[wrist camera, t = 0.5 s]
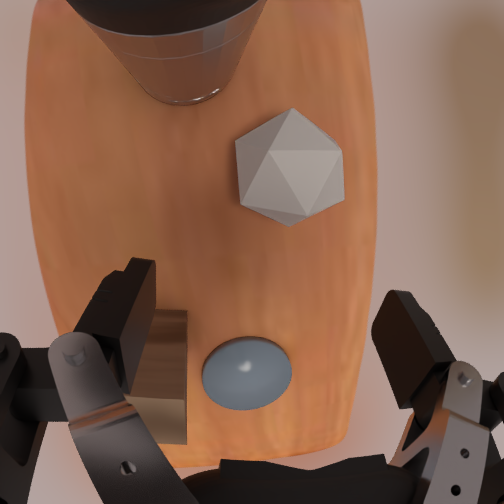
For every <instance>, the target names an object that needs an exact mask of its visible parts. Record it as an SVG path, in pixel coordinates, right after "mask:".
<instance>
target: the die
mask: <svg viewBox="0 0 504 504" xmlns="http://www.w3.org/2000/svg"><path fill="white" fill-rule="evenodd" d="M235 146H236V158H237V170H238V182H239V194H240V205H243V206H245V207H247V208H249V209H251V210H254V211H256V212H258V213H260V214H262V215H264V216H267V217H269V218H271V219H273V220H275V221H277V222H279V223H282V224H284V225H286V226H288V227H290V226H292V225H294V224H296V223H298V222H300V221H302V220H304V219H306V218H308V217H310V216H312V215H314V214H316V213H318V212H320V211H322V210H324V209H327V208H329V207H331V206H333V205H335V204H337V203H339V202H341V201H343V200H344V177H343V159H342V150H341V149H340V147H339V146H338V144H337V143H336V141H335V140H334V139H333V138H331V137H330V136H329V135H328V134H326V133H325V132H324V131H323V130H321V129H320V128H319V127H317V126H316V125H315V124H314V123H312V122H311V121H310V120H308V119H307V118H306V117H304V116H303V115H302V114H300V113H299V112H298V111H296V110H295V109H294V108H291V109H289V110H287V111H285V112H283V113H282V114H280V115H278V116H276V117H275V118H273V119H271V120H269V121H267V122H266V123H264V124H262V125H261V126H259V127H257V128H255V129H254V130H252V131H250V132H249V133H247V134H245V135H244V136H242V137H240V138H239V139H237V140H235Z"/></svg>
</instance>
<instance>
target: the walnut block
mask: <svg viewBox="0 0 504 504" xmlns="http://www.w3.org/2000/svg"><path fill="white" fill-rule="evenodd" d="M123 395H124V397H125V399H126V400H127V402H128V403H129V404H132V405H133V406H134V407H135V409H136V410H137V412H138V413H139V415H140V417H141V418H142V420H143V422H144V424H145V425H146V427H147V429H148V430H149V432H150V433H151V435H152V437H153V438H154V440H155V441H156V443H160V444H182V445H187V311H182V310H159V309H155V313H154V317H153V320H152V323H151V327H150V330H149V333H148V336H147V339H146V342H145V345H144V349H143V352H142V355H141V359H140V362H139V365H138V369H137V372H136V375H135V379H134V382H133V386H132V389H131V393H130V395H129V394H124V393H123Z"/></svg>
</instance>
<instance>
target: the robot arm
mask: <svg viewBox="0 0 504 504" xmlns="http://www.w3.org/2000/svg"><path fill="white" fill-rule="evenodd" d="M66 1H67V2H68V3H69V4H70V5H71V6H72V7H73V8H74V9H75V11H76V12H77V13H78V14H79V15H80V16H81V17H82V19H83V20H84V21H85V22H86V23H87V24H88V25H89V26H90V28H91V29H92V30H93V31H94V32H95V33H96V34H97V35H98V36H99V37H100V39H101V40H102V41H103V42H104V43H105V44H106V45H107V47H108V48H109V49H110V50H111V51H112V52H113V53H114V55H115V56H116V57H117V58H118V59H119V60H120V62H121V63H122V64H123V65H124V66H125V67H126V69H127V70H128V71H129V72H130V73H131V74H132V76H133V77H134V78H135V79H136V80H137V82H138V83H139V84H140V85H141V86H142V87H143V88H144V90H145V91H146V92H147V93H149V94H150V95H151V96H152V97H154V98H155V99H157V100H160V101H162V102H164V103H168V104H172V105H191V104H196V103H199V102H202V101H205V100H207V99H209V98H211V97H213V96H214V95H216V94H217V93H218V92H220V91H221V90H222V89H223V88H224V87H225V86H226V84H227V83H228V82H229V81H230V79H231V77H232V75H233V73H234V71H235V69H236V66H237V64H238V62H239V60H240V58H241V55H242V53H243V51H244V49H245V46H246V44H247V42H248V40H249V38H250V35H251V33H252V31H253V29H254V27H255V25H256V23H257V20H258V18H259V16H260V14H261V12H262V10H263V8H264V5H265V3H266V1H267V0H66ZM155 307H156V263H155V260H149V259H142V258H135V257H132V258H131V260H130V261H129V263H128V265H127V267H126V269H125V270H124V272H123V271H117V270H115V271H113V272H112V273H110V274H109V275H108V276H106V277H105V278H104V279H103V280H102V282H101V284H100V285H99V287H98V289H97V291H96V292H95V294H94V295H93V297H92V300H90V302H89V304H88V306H87V307H86V309H85V311H84V313H83V315H82V316H81V318H80V320H79V322H78V324H77V325H76V327H75V329H74V331H73V332H70V333H66V334H63V335H61V336H59V337H58V338H57V339H55V340H54V341H53V343H52V344H51V345H50V347H48V348H21V346H20V343H19V341H18V339H17V338H16V337H15V336H13V335H12V334H9V333H0V504H27V500H28V496H29V491H30V486H31V482H32V478H33V474H34V470H35V466H36V462H37V458H38V455H39V451H40V447H41V444H42V440H43V437H44V434H45V430H46V427H47V424H48V422H54V421H55V422H69V424H68V426H69V430H70V433H71V435H72V438H73V441H74V443H75V445H76V448H77V450H78V452H79V455H80V457H81V459H82V462H83V464H84V466H85V468H86V470H87V472H88V474H89V476H90V478H91V480H92V482H93V484H94V486H95V488H96V490H97V492H98V494H99V496H100V498H101V500H102V501H103V503H104V504H504V458H503V459H502V460H501V457H500V455H499V452H498V449H497V447H496V444H495V441H494V439H493V436H492V434H491V431H492V430H493V429H494V428H495V427H496V426H497V425H498V424H500V423H501V422H502V421H503V423H504V372H502V373H500V375H499V376H498V377H497V378H496V380H495V381H494V382H491V381H486V380H482V378H481V375H480V374H479V372H478V371H477V370H476V369H475V368H474V367H473V366H472V365H470V364H468V363H466V362H463V361H457V360H456V359H455V357H454V355H453V354H452V352H451V350H450V348H449V347H448V345H447V344H446V342H445V340H444V338H443V337H442V335H440V332H439V330H438V328H437V327H435V324H434V322H433V321H432V319H431V317H430V316H429V314H428V313H426V312H425V311H424V310H423V309H422V308H421V307H420V306H419V304H418V303H417V301H416V300H415V298H414V297H413V295H412V294H411V293H410V292H408V291H399V290H390V291H389V292H388V293H387V294H386V296H385V298H384V301H383V303H382V305H381V307H380V309H379V311H378V313H377V316H376V318H375V320H374V322H373V325H372V329H371V335H372V340H373V342H374V345H375V346H376V350H377V352H378V354H379V357H380V359H381V362H382V364H383V367H384V369H385V372H386V375H387V377H388V380H389V383H390V385H391V388H392V390H393V393H394V396H395V399H396V401H397V404H398V407H399V409H407V408H413V410H414V412H413V413H412V414H411V415H410V417H409V419H408V422H407V424H406V427H405V430H404V432H403V435H402V438H401V440H400V443H399V445H398V447H397V450H396V452H395V455H394V457H393V458H392V460H391V461H390V463H389V464H387V463H386V459H385V456H384V454H379V455H372V456H364V457H355V458H348V459H345V460H342V461H340V462H337V463H334V464H331V465H328V466H324V467H322V468H318V469H315V470H304V469H298V468H293V467H288V466H284V465H279V464H275V463H270V462H266V461H244V460H228V459H221V460H220V464H219V468H218V469H214V470H208V471H204V472H200V473H197V474H194V475H191V476H188V477H186V478H184V479H182V480H181V478H180V477H179V476H178V474H177V473H176V471H175V470H174V469H173V467H172V466H171V464H170V463H169V461H168V460H167V458H166V457H165V455H164V454H163V452H162V451H161V449H160V448H159V446H158V445H157V443H156V441H155V440H154V438H153V437H152V435H151V433H150V432H149V430H148V429H147V427H146V425H145V424H144V422H143V420H142V418H141V417H140V415H139V413H138V412H137V410H136V409H135V407H134V406H133V405H132V404H129V403H128V402H127V400H126V399H125V397H124V395H123V393H124V394H129V395H130V393H131V389H132V386H133V382H134V379H135V375H136V372H137V369H138V365H139V362H140V359H141V355H142V352H143V349H144V345H145V342H146V339H147V336H148V333H149V330H150V327H151V323H152V320H153V317H154V313H155Z"/></svg>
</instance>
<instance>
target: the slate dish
mask: <svg viewBox="0 0 504 504" xmlns="http://www.w3.org/2000/svg"><path fill="white" fill-rule="evenodd" d="M291 376H292V368H291V364H290V362H289V359H288V357H287V355H286V353H285V352H284V350H283V349H282V348H281V347H280V346H279V345H277V344H276V343H274V342H272V341H270V340H267V339H264V338H260V337H241V338H236V339H233V340H230V341H227V342H225V343H223V344H222V345H220V346H218V347H217V348H216V349H214V350H213V351H212V352H211V353H210V355H209V356H208V357H207V359H206V361H205V363H204V365H203V370H202V379H203V387H204V390H205V392H206V393H207V395H208V396H209V397H210V398H211V399H212V400H213V401H214V402H215V403H217V404H219V405H221V406H223V407H225V408H229V409H233V410H252V409H257V408H260V407H263V406H265V405H268V404H270V403H271V402H273V401H275V400H276V399H277V398H279V397H280V396H281V395H282V394H283V393H284V391H285V390H286V389H287V387H288V385H289V383H290V381H291Z"/></svg>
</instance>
